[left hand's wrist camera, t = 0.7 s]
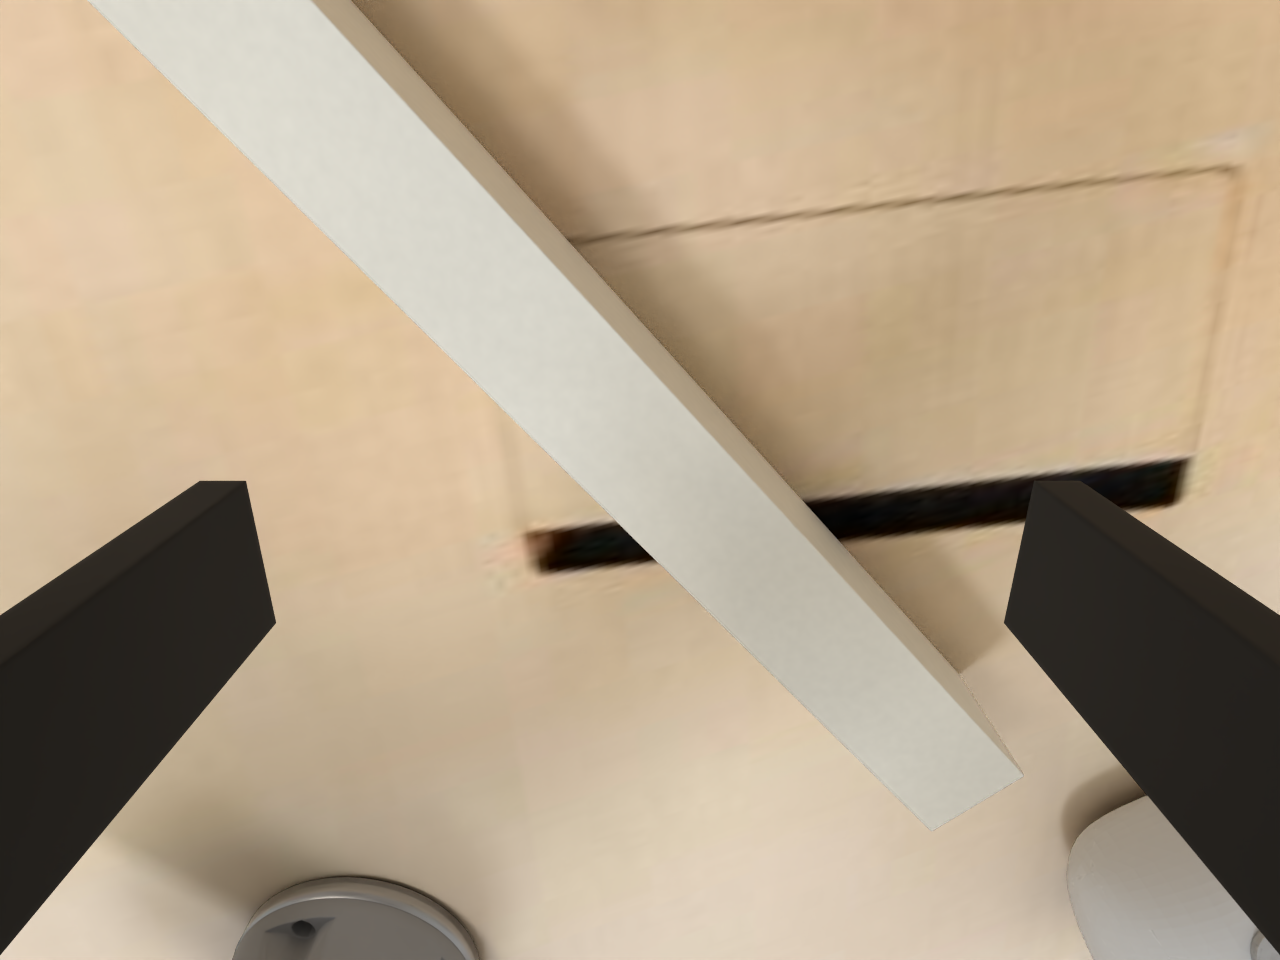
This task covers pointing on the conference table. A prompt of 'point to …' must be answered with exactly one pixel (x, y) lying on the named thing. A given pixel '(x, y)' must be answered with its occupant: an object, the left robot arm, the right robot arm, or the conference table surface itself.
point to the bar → (571, 369)
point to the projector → (1153, 894)
